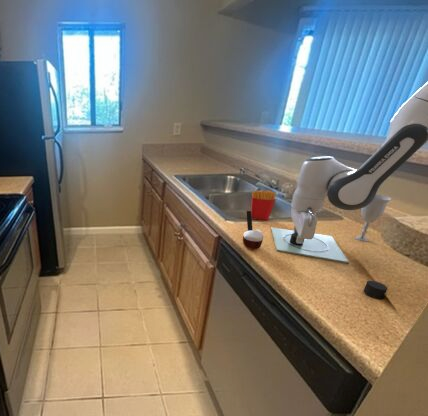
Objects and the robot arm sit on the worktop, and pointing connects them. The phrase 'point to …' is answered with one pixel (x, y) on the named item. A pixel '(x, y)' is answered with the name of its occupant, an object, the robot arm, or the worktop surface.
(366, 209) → the chalice
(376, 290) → the dot
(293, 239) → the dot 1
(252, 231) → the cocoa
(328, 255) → the pale blue square plate
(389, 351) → the worktop surface
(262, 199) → the french fries
